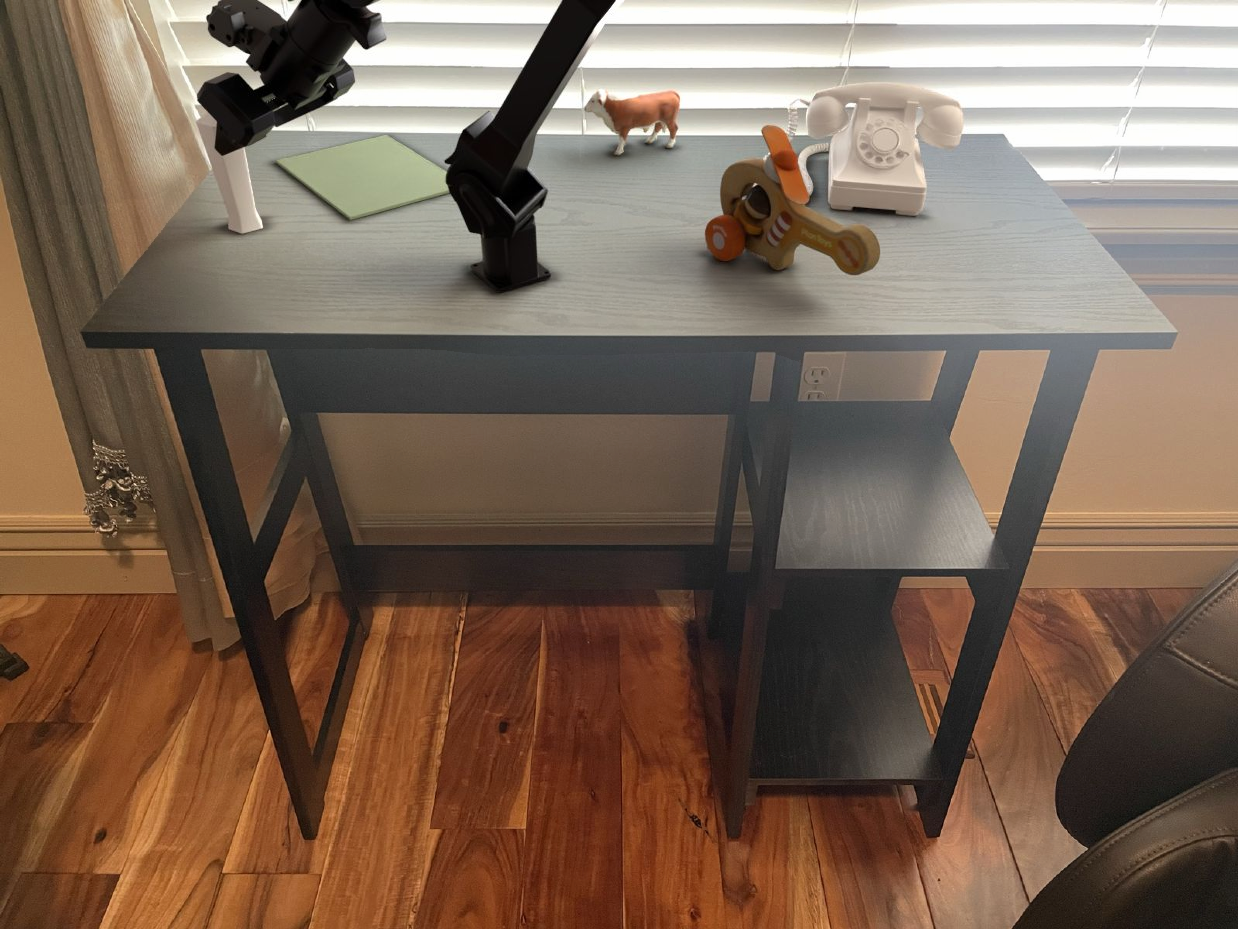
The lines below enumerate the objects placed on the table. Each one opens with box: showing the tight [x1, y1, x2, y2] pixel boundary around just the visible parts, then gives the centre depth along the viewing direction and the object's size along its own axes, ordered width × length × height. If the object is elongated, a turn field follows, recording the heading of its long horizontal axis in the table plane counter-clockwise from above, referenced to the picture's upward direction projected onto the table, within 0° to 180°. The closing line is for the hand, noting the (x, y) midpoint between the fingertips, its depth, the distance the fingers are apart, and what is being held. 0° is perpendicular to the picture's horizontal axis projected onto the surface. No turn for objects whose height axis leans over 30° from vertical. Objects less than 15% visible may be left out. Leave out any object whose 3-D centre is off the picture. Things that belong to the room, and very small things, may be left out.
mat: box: [275, 134, 450, 221], centre depth 119 cm, size 22×16×1 cm
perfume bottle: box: [195, 111, 264, 235], centre depth 103 cm, size 5×4×15 cm
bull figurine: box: [583, 88, 681, 156], centre depth 125 cm, size 4×13×8 cm, turn 107°
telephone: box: [753, 81, 965, 217], centre depth 116 cm, size 25×21×12 cm
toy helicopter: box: [704, 124, 881, 276], centre depth 96 cm, size 8×21×14 cm, turn 39°
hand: (247, 137), depth 100 cm, fingers open, 9 cm apart
